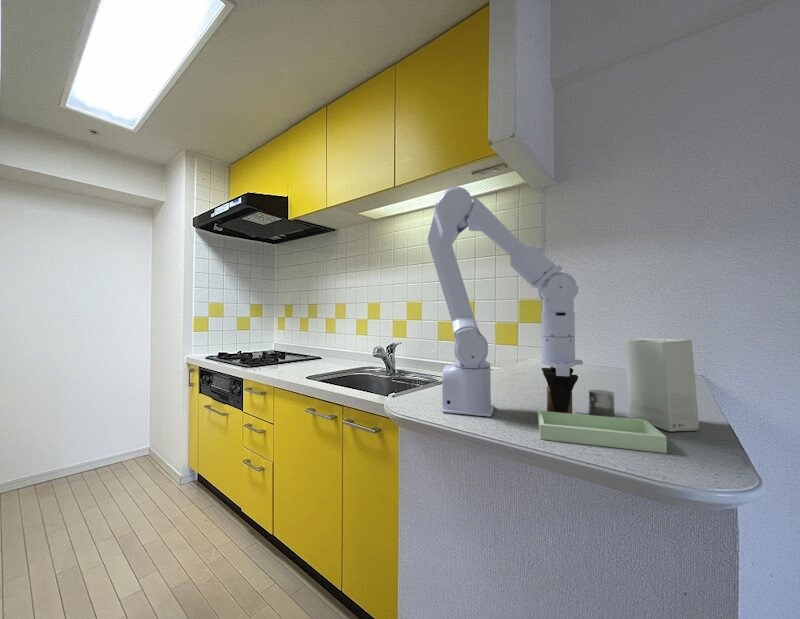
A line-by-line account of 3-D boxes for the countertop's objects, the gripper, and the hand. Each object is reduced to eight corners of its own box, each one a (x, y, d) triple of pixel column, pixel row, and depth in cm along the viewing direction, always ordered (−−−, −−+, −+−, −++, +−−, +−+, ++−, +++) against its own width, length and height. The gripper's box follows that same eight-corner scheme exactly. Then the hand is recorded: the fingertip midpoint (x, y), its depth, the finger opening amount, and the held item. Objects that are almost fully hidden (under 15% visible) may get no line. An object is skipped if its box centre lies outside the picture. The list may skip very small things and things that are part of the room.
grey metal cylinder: (591, 421, 59) (590, 393, 59) (587, 415, 63) (586, 389, 63) (617, 424, 58) (616, 395, 58) (611, 417, 62) (611, 390, 62)
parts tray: (540, 439, 51) (540, 424, 51) (538, 423, 59) (537, 410, 59) (666, 453, 46) (666, 437, 46) (646, 433, 53) (645, 419, 53)
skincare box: (700, 431, 54) (697, 339, 54) (667, 433, 53) (665, 340, 54) (653, 415, 62) (652, 336, 63) (625, 417, 62) (623, 337, 62)
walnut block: (548, 417, 62) (548, 390, 62) (546, 411, 65) (546, 386, 66) (572, 419, 60) (572, 392, 60) (569, 413, 64) (569, 387, 64)
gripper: (589, 339, 55) (590, 421, 55) (575, 334, 69) (576, 400, 68) (542, 338, 57) (544, 417, 57) (538, 334, 71) (539, 397, 71)
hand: (559, 408), depth 63 cm, fingers closed on walnut block, 4 cm apart
